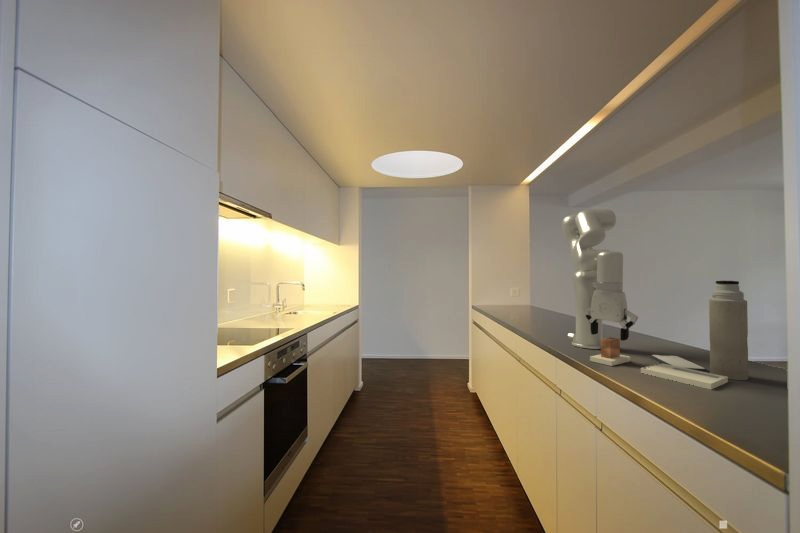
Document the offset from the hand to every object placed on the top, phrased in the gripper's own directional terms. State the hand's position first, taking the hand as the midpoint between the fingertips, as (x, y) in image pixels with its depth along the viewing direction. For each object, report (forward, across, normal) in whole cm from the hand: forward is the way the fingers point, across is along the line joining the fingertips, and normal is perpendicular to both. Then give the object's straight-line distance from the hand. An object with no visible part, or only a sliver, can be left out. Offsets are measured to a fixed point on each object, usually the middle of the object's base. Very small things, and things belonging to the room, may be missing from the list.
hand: (608, 336), depth 114 cm
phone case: (+9, +14, +14) cm, 22 cm away
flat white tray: (+7, +21, -1) cm, 22 cm away
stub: (+8, +1, -1) cm, 8 cm away
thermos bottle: (+8, +27, +13) cm, 31 cm away
